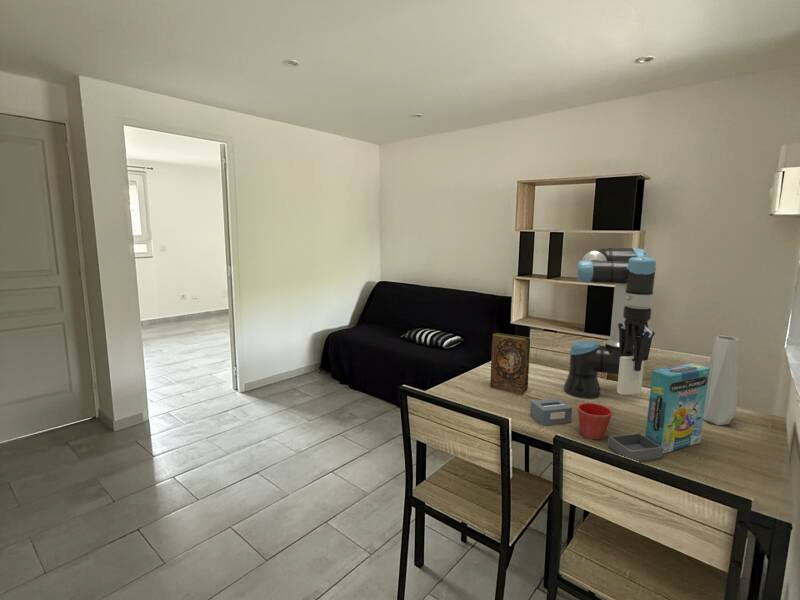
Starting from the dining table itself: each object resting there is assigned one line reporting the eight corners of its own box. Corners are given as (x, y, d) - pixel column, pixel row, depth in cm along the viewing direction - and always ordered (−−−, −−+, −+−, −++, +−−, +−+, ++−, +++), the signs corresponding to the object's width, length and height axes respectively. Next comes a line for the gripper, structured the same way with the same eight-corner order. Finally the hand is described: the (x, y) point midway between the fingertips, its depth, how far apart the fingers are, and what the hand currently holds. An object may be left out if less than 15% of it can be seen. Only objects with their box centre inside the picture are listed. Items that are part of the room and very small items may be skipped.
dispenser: (557, 412, 169) (558, 397, 168) (571, 422, 160) (572, 406, 159) (530, 415, 167) (531, 399, 165) (542, 426, 158) (543, 409, 157)
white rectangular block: (635, 390, 139) (639, 355, 138) (640, 393, 137) (644, 357, 135) (616, 392, 138) (620, 356, 136) (622, 394, 136) (625, 358, 134)
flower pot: (607, 444, 144) (609, 418, 143) (573, 436, 150) (575, 410, 148) (610, 432, 153) (613, 407, 151) (578, 424, 159) (580, 400, 157)
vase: (699, 411, 171) (709, 332, 165) (735, 420, 163) (747, 337, 157) (692, 420, 162) (703, 337, 157) (730, 430, 154) (742, 343, 149)
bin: (638, 443, 145) (639, 432, 144) (661, 459, 135) (663, 447, 135) (607, 447, 142) (608, 436, 142) (629, 463, 133) (630, 451, 132)
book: (488, 387, 195) (490, 335, 191) (492, 383, 200) (495, 332, 196) (524, 395, 187) (527, 340, 183) (527, 391, 191) (530, 337, 187)
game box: (661, 455, 138) (670, 376, 133) (643, 446, 143) (651, 370, 139) (701, 443, 146) (711, 367, 141) (682, 434, 151) (691, 362, 147)
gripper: (610, 302, 140) (604, 371, 144) (645, 311, 125) (638, 387, 129) (630, 302, 141) (624, 369, 145) (667, 310, 126) (659, 385, 130)
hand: (630, 378), depth 137 cm, fingers closed on white rectangular block, 2 cm apart
